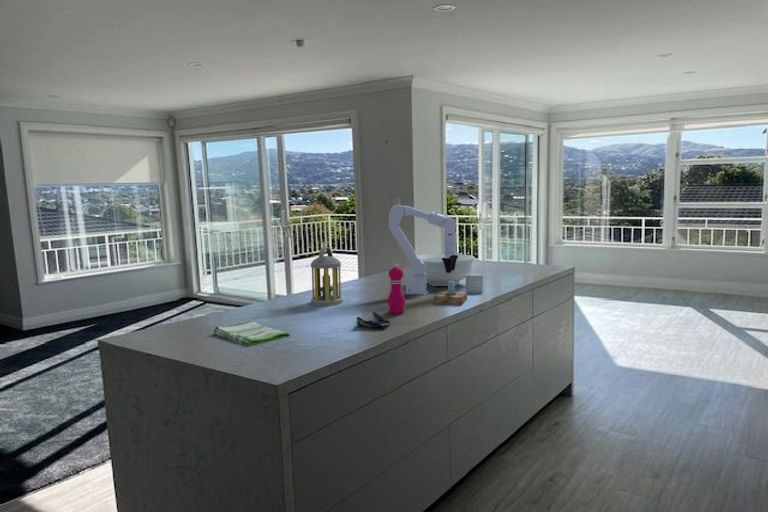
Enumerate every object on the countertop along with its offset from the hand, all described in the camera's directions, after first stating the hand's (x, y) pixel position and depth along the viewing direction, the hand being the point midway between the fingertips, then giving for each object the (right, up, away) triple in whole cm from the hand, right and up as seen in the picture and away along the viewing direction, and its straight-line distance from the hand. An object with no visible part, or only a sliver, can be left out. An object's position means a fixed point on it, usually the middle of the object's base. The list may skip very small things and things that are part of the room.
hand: (450, 271), depth 262 cm
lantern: (-57, -14, -16) cm, 61 cm away
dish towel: (-78, -21, -69) cm, 106 cm away
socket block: (-2, -13, -19) cm, 23 cm away
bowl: (-1, -8, +25) cm, 26 cm away
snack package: (-35, -19, -60) cm, 72 cm away
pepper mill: (-26, -16, -38) cm, 49 cm away
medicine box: (+11, -10, +2) cm, 16 cm away
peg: (-2, -13, -19) cm, 23 cm away
